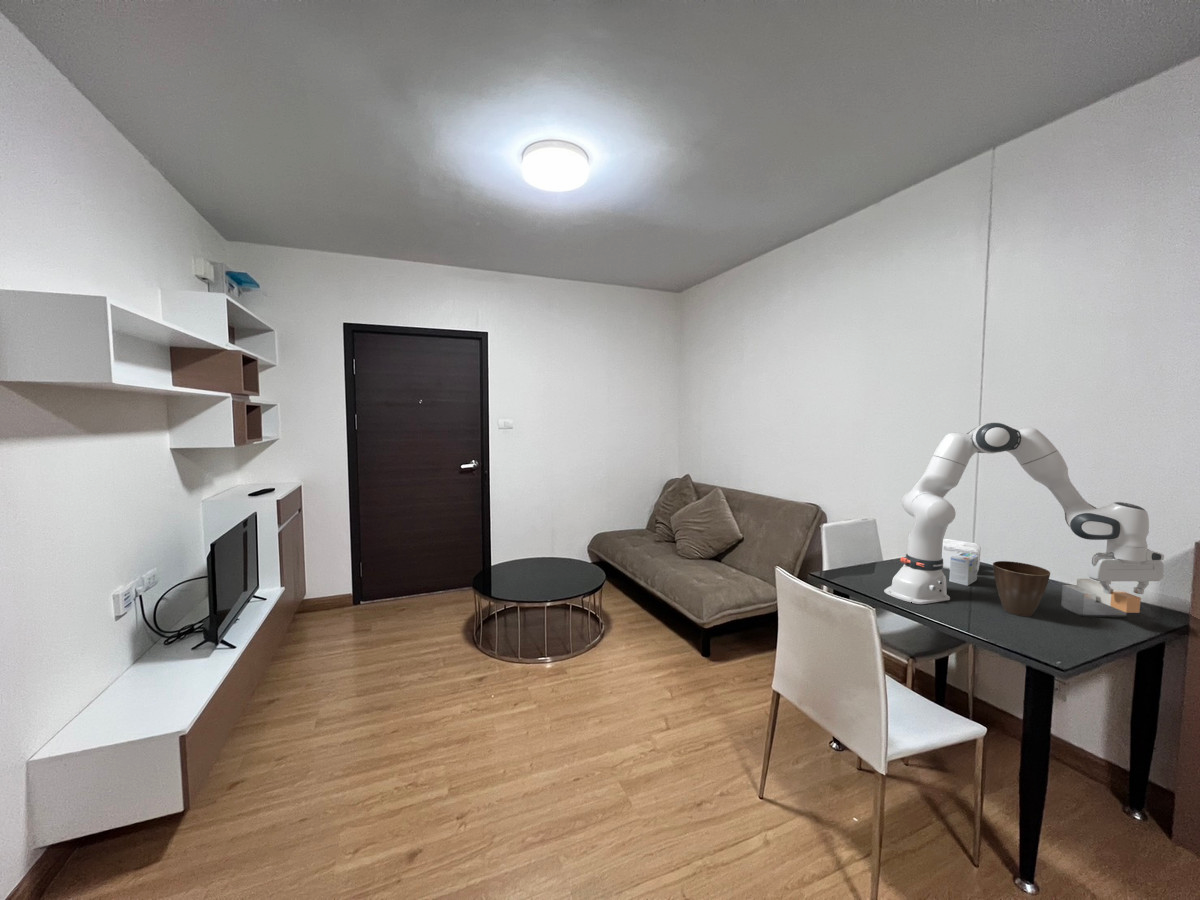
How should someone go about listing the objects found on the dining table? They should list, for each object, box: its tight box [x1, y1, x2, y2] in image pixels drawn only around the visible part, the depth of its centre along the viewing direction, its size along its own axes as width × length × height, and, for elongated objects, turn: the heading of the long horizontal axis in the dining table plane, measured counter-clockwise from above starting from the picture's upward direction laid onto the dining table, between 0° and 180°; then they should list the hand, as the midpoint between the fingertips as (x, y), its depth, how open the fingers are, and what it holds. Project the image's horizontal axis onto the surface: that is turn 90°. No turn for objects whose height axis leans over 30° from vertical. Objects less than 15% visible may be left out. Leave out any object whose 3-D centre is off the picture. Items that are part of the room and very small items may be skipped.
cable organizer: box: [942, 538, 982, 573], centre depth 208 cm, size 15×11×12 cm
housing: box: [1060, 584, 1127, 618], centre depth 164 cm, size 8×14×8 cm, turn 87°
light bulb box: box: [948, 552, 978, 586], centre depth 194 cm, size 11×7×11 cm, turn 126°
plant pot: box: [992, 560, 1051, 617], centre depth 164 cm, size 15×15×16 cm
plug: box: [1076, 578, 1142, 614], centre depth 159 cm, size 17×4×5 cm, turn 177°
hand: (1123, 593), depth 154 cm, fingers open, 8 cm apart
